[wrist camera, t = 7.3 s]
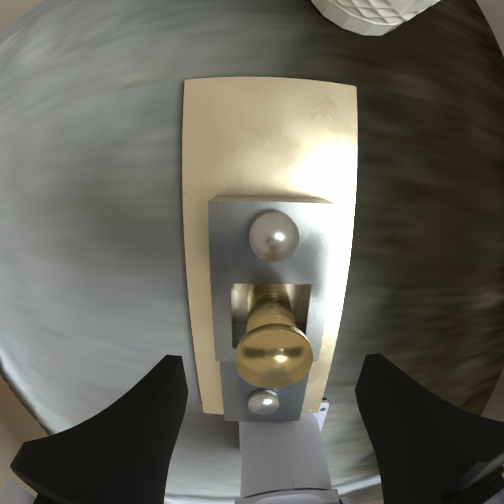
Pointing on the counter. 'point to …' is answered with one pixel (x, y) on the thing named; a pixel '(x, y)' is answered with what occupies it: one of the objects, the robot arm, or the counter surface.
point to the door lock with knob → (266, 225)
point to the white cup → (371, 13)
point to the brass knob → (272, 340)
